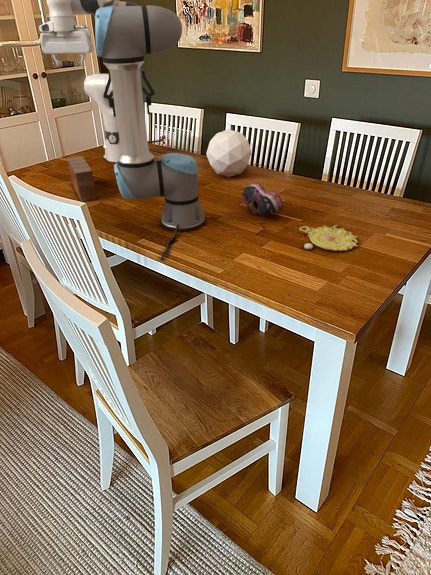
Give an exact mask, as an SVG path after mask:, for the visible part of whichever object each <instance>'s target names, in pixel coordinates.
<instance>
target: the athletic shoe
mask: <svg viewBox="0 0 431 575" xmlns="http://www.w3.org/2000/svg"><path fill="white" fill-rule="evenodd" d="M241 197H242V199H243V201H238V203H239V204H241V205H245V206H246V207H247V208H248V210H249V211H250V210H251V213H252V214H255V215H260V217H266V216H267V215H270V214H274V213H275V212H279V211H282V210H283V209H284V205H283V201H282V198H281V196H280V195H279V194H278V192H277V191H274V190H269V191H267V190H266V189H265V187H264V186H263V185H262V184H261V183H258V182H251V183H249V184H247V186H246V187H245V188H244V190H243V191H242V192H241Z"/></svg>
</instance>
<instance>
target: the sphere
mask: <svg viewBox="0 0 431 575" xmlns="http://www.w3.org/2000/svg"><path fill="white" fill-rule="evenodd" d="M252 154H253V152H252V148H251V145H250V143H249V140H248V139H247V138H246V136H245V135H244V134H243V133H242V132H240V131H236V130H232V129H226V130H222V131H221V132H217V133H216V134H215V135H214V136H213V137H212V138H211V139H210V140H209V142H208V147H207V150H206V158H207V160H208V162H209V165H210V166H211V168H212V169H213V170H214V172H215V173H216V174H217V175H221V176H224V177H227V178H230V177H233V176H238V175H240V174H242V173H243V172H244V170H245V169H246V168H247V166H249V162H250V160H251V157H252Z"/></svg>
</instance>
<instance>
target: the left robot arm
mask: <svg viewBox="0 0 431 575" xmlns="http://www.w3.org/2000/svg"><path fill="white" fill-rule="evenodd" d="M45 2H46V5H47V7H48V11H49V14H48V15H49V21H47V22H44V23H43V24H40V25H39V26H38V29H39V32H40V35H39V41H40V48H41V51H42V52H43V54H45V55H51V56H52V58H53V60H54V61H55V63H56V66H57V67H63V61H61V60H60V59H59V58H58V57H59V54H79V57H81V58H80V60H78V67H85V59H86V56H87V55H86V54H91V53H93V52H94V44H93V41H92V37H91V36H92V33H91V29H90V28H89V26H87V25H84V24H82V25H77V24H76V21H75V16H80V15H81V16H82V15H83V16H84V15H86V16H87V15H91V16H93V21H95V14H96V11H97V10H98V9H99V8H102V7H110V6H138V4H137V3H136V2H134V1H130V0H129V1H121V0H45ZM106 68H107V70H109V68H108V67H106ZM108 79H109V73H94V74H90V75H87V76H86V77H85V78H84V81H83V89H84V92H85V94H86V95H87V96H88V97H89V98H90V99H91V100H92V101H93V102H94V103H95V104H96V105H97V106H98V109H99V110H100V113H101V115H102V119H103V120H102V121H103V125H104V129H105V130H104V136H105V137H104V138H105V140H104V143H103V144H104V145H103V148H104V155H103V159H105V160H106V161H107V162H111V163H118V160H117V158H118V157H119V155H120V154H121V146H120V139H119V132H118V125H117V118H116V117H114V115H113V108H110V107H109V100H108V99H107V98H104V97H103V95H104V92H105V88H106V85H107V82H108ZM111 91H112V82H111V83H110V87H109V90H108V93H107V95H109V94H110V93H111ZM112 98H113V99H114V96H112ZM114 106H115V104H114ZM115 113H116V111H115ZM164 138H165V137H164V136H163V135H161V139H157V140H147V141H148V144H149V143H158V142H159V143H160V142H162V141H163V140H164Z"/></svg>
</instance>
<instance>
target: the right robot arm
mask: <svg viewBox="0 0 431 575" xmlns="http://www.w3.org/2000/svg"><path fill="white" fill-rule="evenodd" d="M94 25H95V26H94V29H95V30H94V31H95V53H96V56H97V57H99V58H102V63H103V65H104V66H105V67H106V68H107V67H108V68H109V69H108V68H107V69H108V74H109V79H108V82H107V85H106V88H105V92H104V95H103V97H104V98H107V99H108V100H109V107H110V108H113V115H114V117H116V118H117V125H118V132H119V139H120V146H121V154H120V155H119V157H118V158H117V160H118V162H115V164H113V170H114V174H115V179H116V183H117V186H118V189H119V192H120V195H121V196H122V198H123V199H125V200H139V199H140V200H141V199H148V198H150V199H151V198H160V197H164V204H163V209H162V213H161V219H160V220H161V225H162V227H163V228H165V229H167V230H170V231H174V233H173V235H172V237H171V238H169V239H168V241H167V242H166V248H165V250H164V251H163V252H162V254H161V256H160V262H162V261H164V258H165V255H166V253H167V252H168V251H169V249H170V243H171V242H172V241H174V239H175V238H176V237H177V233H178V232H185V231H186V232H187V231H192V230H195V229H198V228H201V227H202V226H203V225H204V224H205V223H206V216H205V212H204V210H203V208H202V204H201V202H200V196H199V179H198V177H199V176H198V174H199V171H198V165H197V161H196V159H195V158H194V157H193V156H191V155H188V154H184V153H177V152H171V153H169V152H168V153H164V154H162V155H161V156H160V160H155V155H154V154H153V153H152V152H151V151H150V149H149V143H148V141H149V140H148V134H147V132H148V131H147V125H146V124H147V123H146V113H147V115H148V116H149V115H150V114H151V113H150V106H152V97H153V96H155V95H156V92H155V90H154V88H153V87H152V85H151V83H150V81H149V79H148V78H147V76H146V72H145V70H144V68H143V69H142V68H141V67H142V66H143V64H144V63H145V55H151V54H152V55H154V54H159V53H163V52H166V51H168V50H170V49H172V48H173V47H175V46H176V45H177V44H178V43H179V42H180V40H181V38H182V35H183V25H182V21H181V19H180V17H179V16H178V14H177V13H175V12H174V11H172V10H171V9H169V8H165V7H162V6H158V5H148V4H147V5H137V6H110V7H102V8H99V9H98V10H97V11H96V14H95V20H94ZM142 79H143V81H144V83H145V84H146V86H147V88H148V89H147V88H146V87H145V86H143V85H144V84H142ZM111 82H112V91H111V93H110V94H109V95H107V93H108V90H109V87H110V83H111ZM148 90H149V91H150V92H149V91H148ZM143 93H144V94H145V95H146V96H145V102H146V111H147V112H146V113H145V106H144V95H143ZM112 96H114V99H113V98H112ZM114 104H115V106H114ZM115 111H116V113H115Z"/></svg>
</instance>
